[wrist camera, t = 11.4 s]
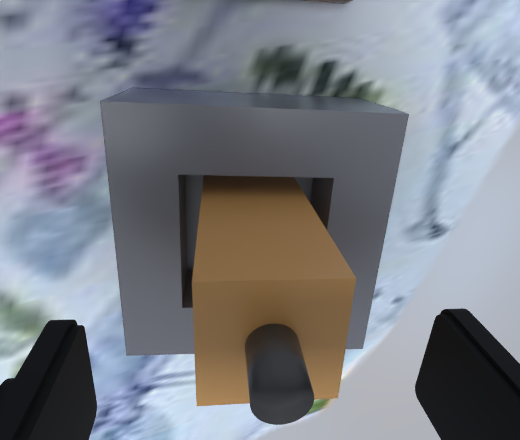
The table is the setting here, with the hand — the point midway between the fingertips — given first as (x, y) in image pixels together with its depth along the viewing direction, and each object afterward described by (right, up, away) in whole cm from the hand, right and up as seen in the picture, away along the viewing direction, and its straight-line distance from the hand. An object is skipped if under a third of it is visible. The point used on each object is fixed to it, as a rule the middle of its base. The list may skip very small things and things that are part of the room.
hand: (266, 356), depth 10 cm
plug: (-1, +4, +10) cm, 11 cm away
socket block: (-1, +5, +12) cm, 13 cm away
